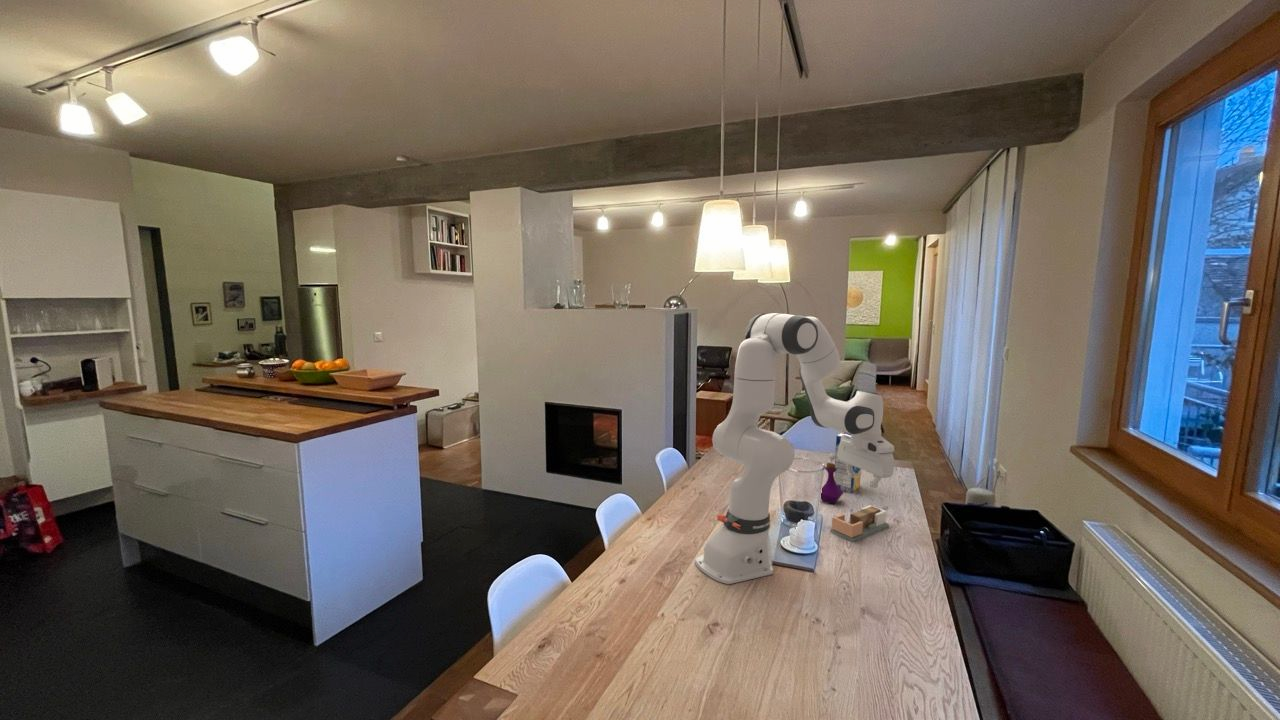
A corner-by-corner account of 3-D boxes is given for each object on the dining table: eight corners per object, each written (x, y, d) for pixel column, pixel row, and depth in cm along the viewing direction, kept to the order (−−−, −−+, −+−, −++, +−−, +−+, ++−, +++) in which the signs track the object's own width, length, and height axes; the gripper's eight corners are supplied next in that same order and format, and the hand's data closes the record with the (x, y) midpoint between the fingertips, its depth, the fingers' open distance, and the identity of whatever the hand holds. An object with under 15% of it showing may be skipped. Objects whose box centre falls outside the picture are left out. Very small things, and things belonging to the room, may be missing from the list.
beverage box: (833, 489, 196) (836, 435, 193) (843, 481, 204) (846, 430, 202) (850, 493, 191) (854, 438, 189) (860, 486, 200) (863, 433, 197)
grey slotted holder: (852, 542, 152) (853, 526, 151) (830, 531, 159) (831, 517, 158) (888, 526, 163) (889, 512, 162) (866, 517, 169) (867, 504, 169)
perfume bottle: (837, 506, 179) (840, 459, 177) (816, 501, 183) (819, 455, 181) (842, 500, 185) (845, 454, 182) (822, 495, 189) (825, 450, 187)
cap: (851, 537, 152) (852, 526, 152) (831, 528, 158) (832, 517, 158) (862, 533, 155) (863, 522, 155) (842, 524, 161) (842, 513, 161)
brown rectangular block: (858, 530, 157) (858, 517, 157) (849, 527, 160) (850, 514, 159) (879, 522, 164) (880, 509, 163) (870, 518, 166) (871, 506, 166)
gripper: (834, 433, 166) (831, 472, 167) (883, 449, 147) (879, 494, 148) (848, 431, 168) (845, 470, 169) (899, 448, 149) (895, 492, 150)
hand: (862, 482), depth 159 cm, fingers open, 8 cm apart
